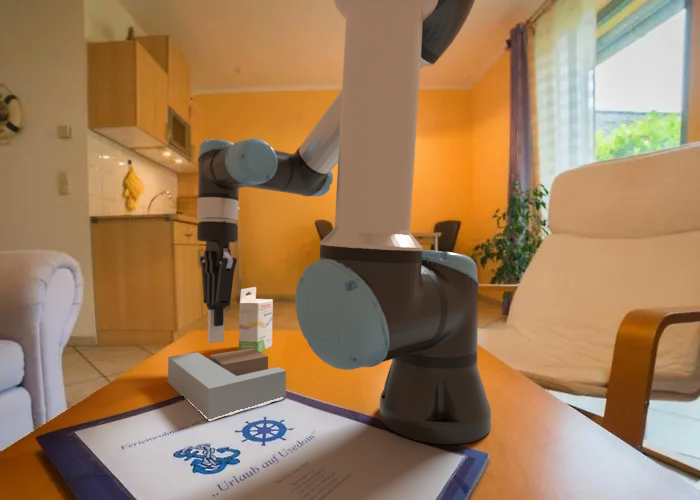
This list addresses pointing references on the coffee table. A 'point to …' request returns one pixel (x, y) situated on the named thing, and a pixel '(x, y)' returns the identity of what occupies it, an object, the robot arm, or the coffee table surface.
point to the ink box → (255, 321)
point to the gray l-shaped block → (222, 385)
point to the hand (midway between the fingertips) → (215, 341)
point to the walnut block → (241, 361)
